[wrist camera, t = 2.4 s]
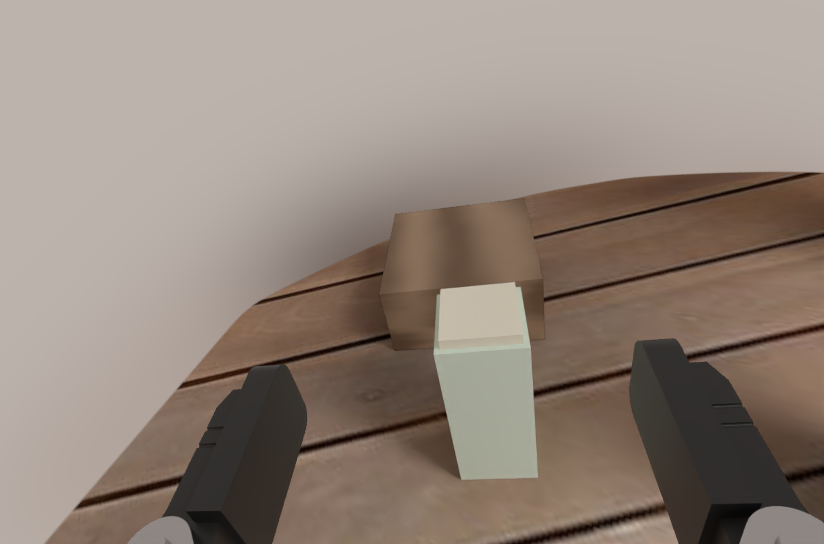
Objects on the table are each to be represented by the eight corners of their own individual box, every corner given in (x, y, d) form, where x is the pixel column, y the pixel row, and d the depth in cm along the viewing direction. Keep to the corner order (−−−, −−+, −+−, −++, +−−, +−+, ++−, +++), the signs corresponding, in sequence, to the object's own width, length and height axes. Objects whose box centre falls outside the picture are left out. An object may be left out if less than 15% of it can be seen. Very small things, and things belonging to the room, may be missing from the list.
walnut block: (527, 252, 47) (524, 198, 44) (544, 339, 38) (543, 278, 34) (407, 265, 49) (395, 214, 46) (394, 350, 40) (378, 294, 36)
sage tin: (528, 413, 33) (520, 278, 26) (537, 477, 29) (530, 338, 22) (460, 417, 34) (435, 286, 27) (461, 480, 30) (431, 346, 23)
